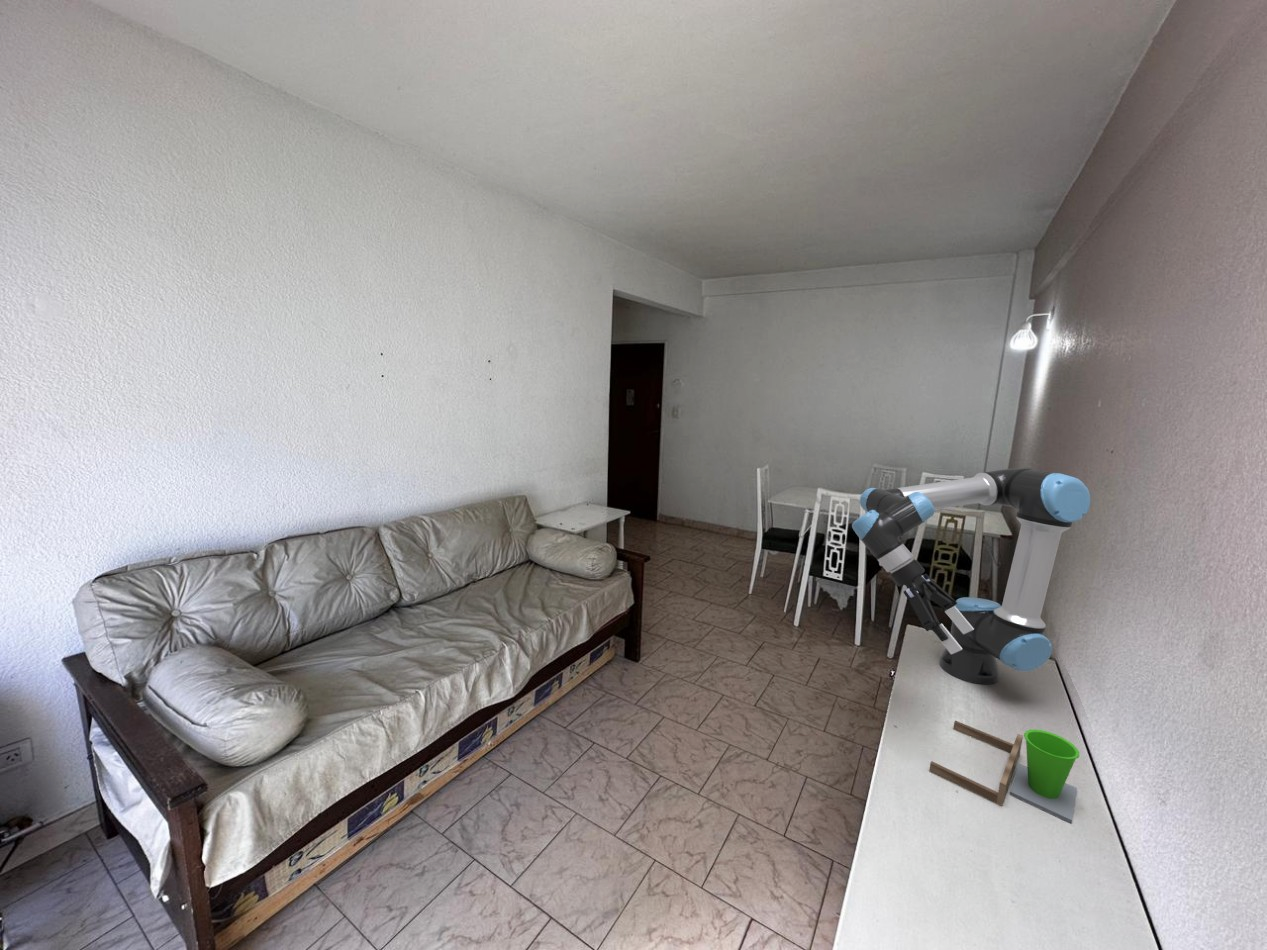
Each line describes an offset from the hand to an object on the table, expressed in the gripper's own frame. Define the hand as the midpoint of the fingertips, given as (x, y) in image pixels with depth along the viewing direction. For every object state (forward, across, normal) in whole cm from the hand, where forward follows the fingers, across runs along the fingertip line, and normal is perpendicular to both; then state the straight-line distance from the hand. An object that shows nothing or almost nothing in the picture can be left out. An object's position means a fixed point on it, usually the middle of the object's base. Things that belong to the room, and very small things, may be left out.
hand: (963, 641), depth 120 cm
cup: (+31, +6, -5) cm, 32 cm away
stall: (+22, +6, -14) cm, 27 cm away
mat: (+31, +6, -5) cm, 32 cm away
